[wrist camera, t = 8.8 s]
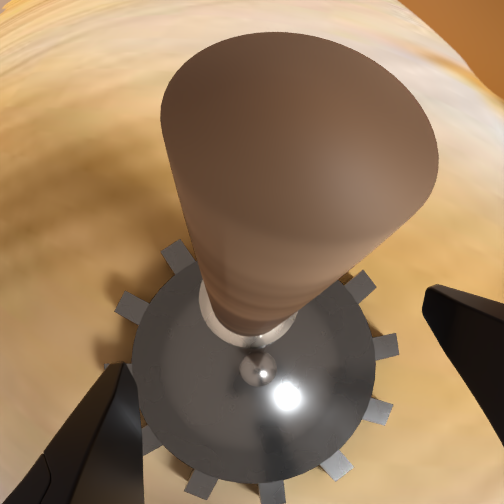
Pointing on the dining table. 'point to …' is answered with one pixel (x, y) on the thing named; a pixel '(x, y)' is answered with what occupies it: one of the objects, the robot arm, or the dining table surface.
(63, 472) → the robot arm
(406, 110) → the brown cylinder
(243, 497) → the dining table surface
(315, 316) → the sprocket plate
